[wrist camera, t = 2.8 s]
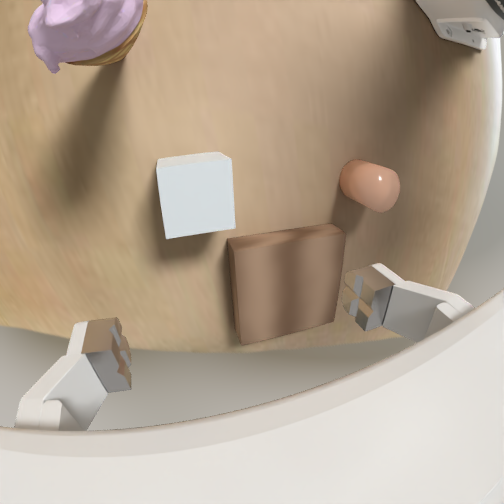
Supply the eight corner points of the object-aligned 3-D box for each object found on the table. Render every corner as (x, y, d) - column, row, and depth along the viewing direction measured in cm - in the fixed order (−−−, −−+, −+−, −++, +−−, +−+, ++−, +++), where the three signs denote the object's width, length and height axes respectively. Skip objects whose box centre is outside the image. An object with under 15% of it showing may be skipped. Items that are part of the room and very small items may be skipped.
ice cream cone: (116, 103, 20) (57, 83, 7) (67, 71, 17) (-23, 35, 4) (165, 44, 19) (172, -39, 6) (115, 14, 16) (78, -75, 3)
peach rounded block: (372, 159, 30) (402, 168, 26) (369, 197, 32) (397, 210, 28) (340, 159, 29) (368, 168, 24) (338, 199, 31) (365, 214, 27)
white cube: (218, 151, 25) (231, 159, 20) (222, 207, 28) (235, 228, 23) (157, 158, 24) (156, 168, 19) (165, 216, 26) (166, 239, 22)
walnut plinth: (331, 223, 32) (346, 233, 29) (322, 307, 37) (333, 321, 35) (227, 238, 29) (234, 251, 26) (235, 329, 34) (241, 345, 32)
